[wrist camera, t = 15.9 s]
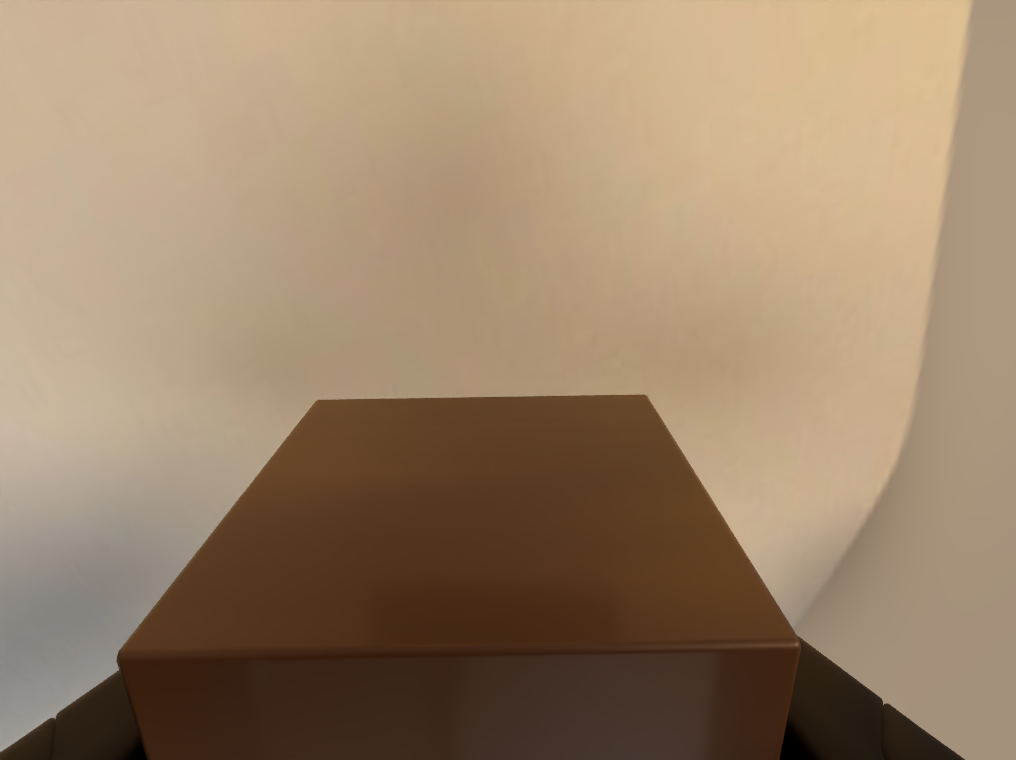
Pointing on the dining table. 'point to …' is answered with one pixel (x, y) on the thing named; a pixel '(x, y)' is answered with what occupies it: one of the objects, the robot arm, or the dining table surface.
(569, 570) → the walnut block
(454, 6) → the dining table surface
